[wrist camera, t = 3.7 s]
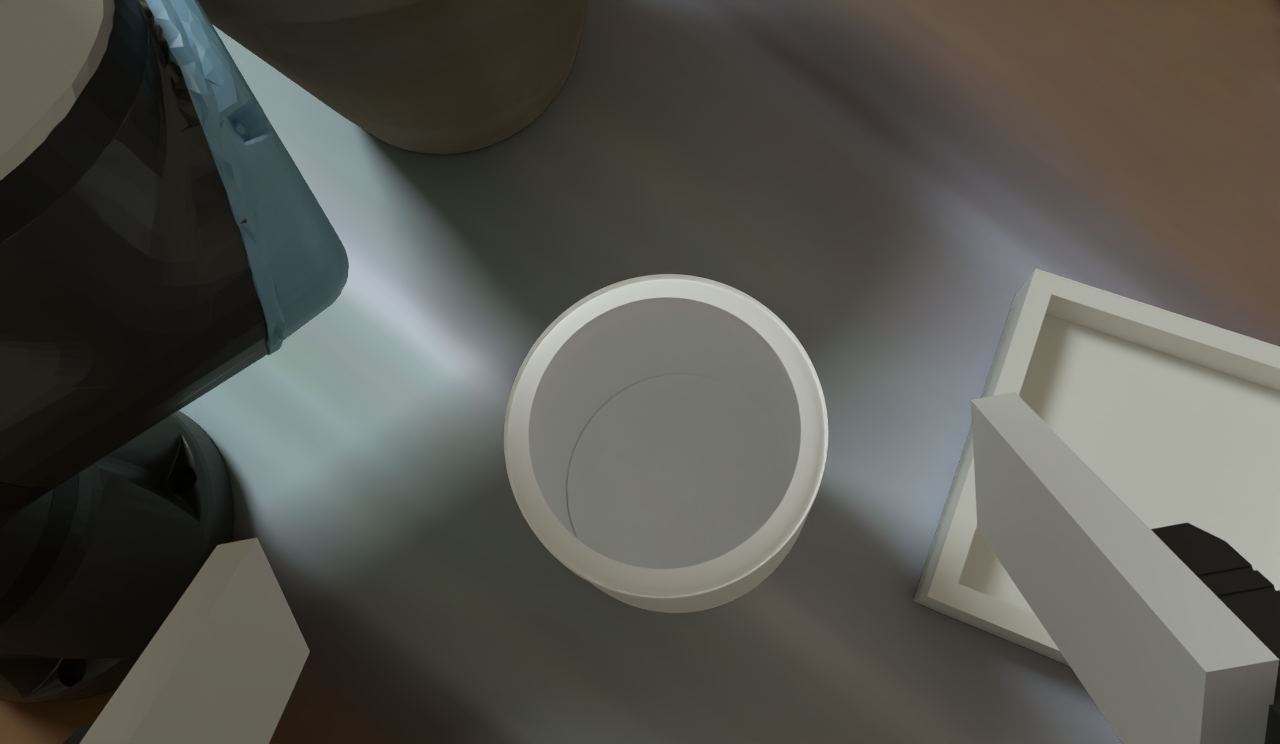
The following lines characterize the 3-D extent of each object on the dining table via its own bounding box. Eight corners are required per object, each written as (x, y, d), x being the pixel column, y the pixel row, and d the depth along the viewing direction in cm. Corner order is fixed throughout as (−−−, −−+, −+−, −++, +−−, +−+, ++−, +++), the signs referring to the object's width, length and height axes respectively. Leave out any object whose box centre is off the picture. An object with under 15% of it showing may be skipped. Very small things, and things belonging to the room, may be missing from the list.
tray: (1295, 759, 36) (1344, 768, 33) (912, 601, 39) (926, 596, 36) (1368, 410, 40) (1416, 391, 37) (1015, 294, 43) (1035, 268, 40)
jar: (582, 402, 44) (510, 276, 30) (791, 398, 43) (821, 266, 29) (574, 622, 40) (489, 600, 26) (801, 624, 39) (841, 602, 25)
